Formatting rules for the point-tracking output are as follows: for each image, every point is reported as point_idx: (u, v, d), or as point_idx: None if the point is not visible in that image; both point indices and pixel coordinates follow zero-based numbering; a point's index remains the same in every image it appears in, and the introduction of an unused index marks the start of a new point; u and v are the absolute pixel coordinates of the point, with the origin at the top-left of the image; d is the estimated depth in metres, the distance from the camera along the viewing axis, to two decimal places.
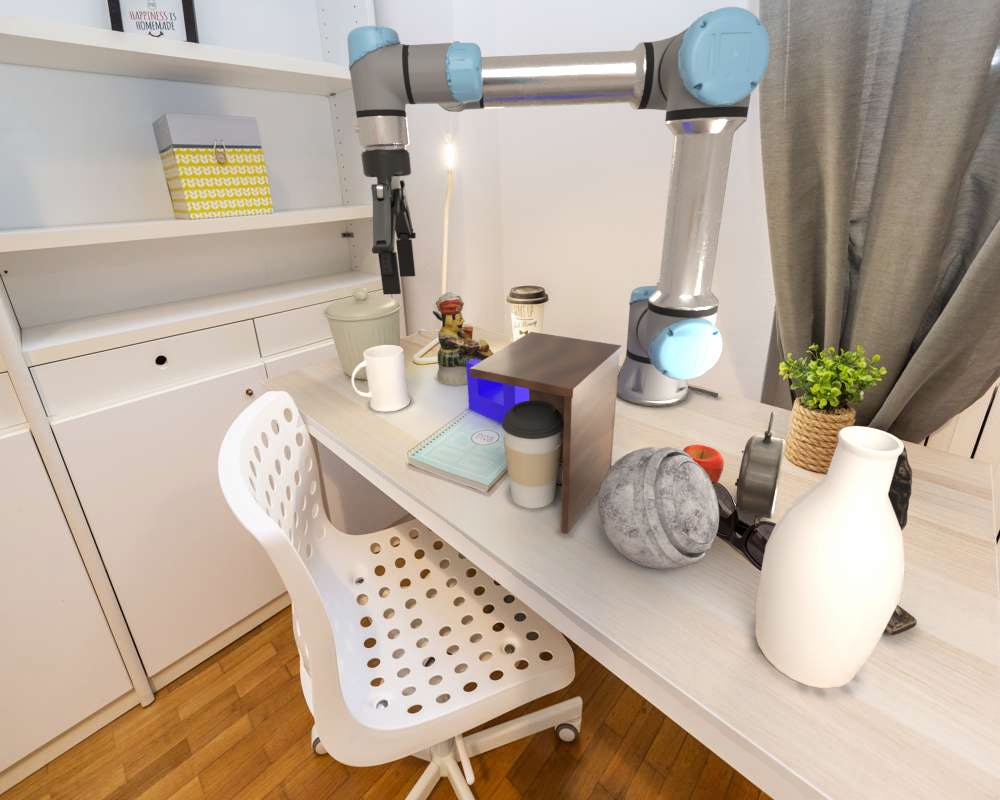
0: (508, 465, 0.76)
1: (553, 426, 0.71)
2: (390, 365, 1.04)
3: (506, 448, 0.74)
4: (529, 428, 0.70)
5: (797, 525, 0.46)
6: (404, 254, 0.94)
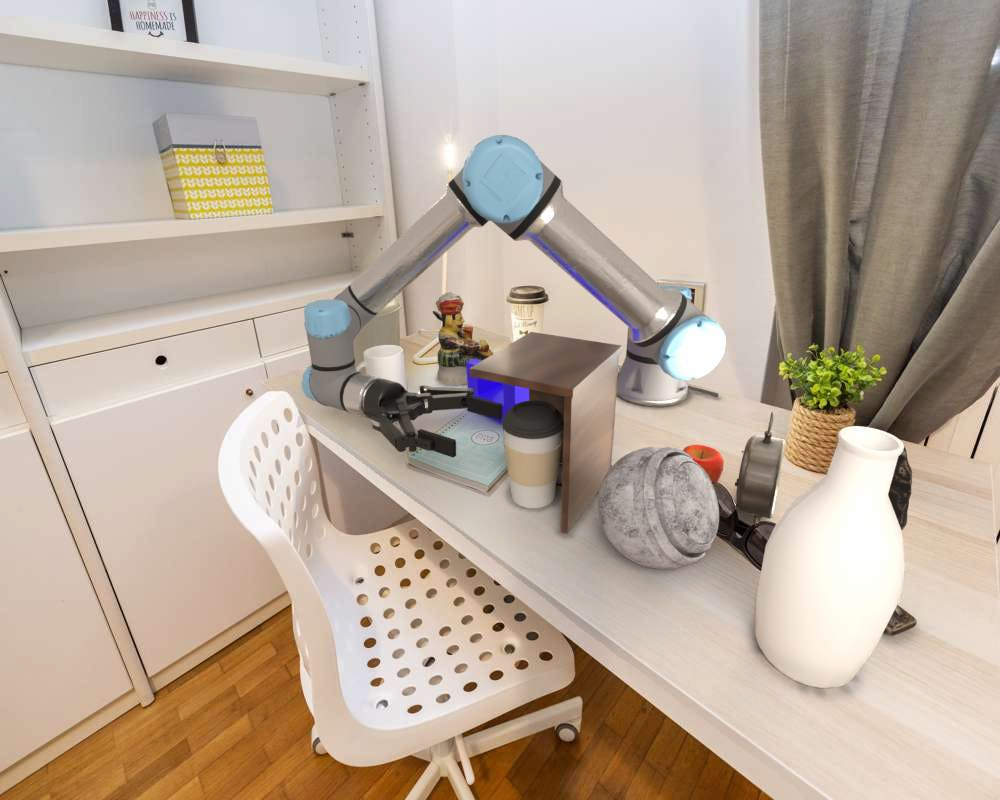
0: (508, 465, 0.76)
1: (553, 426, 0.71)
2: (390, 365, 1.04)
3: (506, 448, 0.74)
4: (529, 428, 0.70)
5: (797, 525, 0.46)
6: (479, 407, 0.87)
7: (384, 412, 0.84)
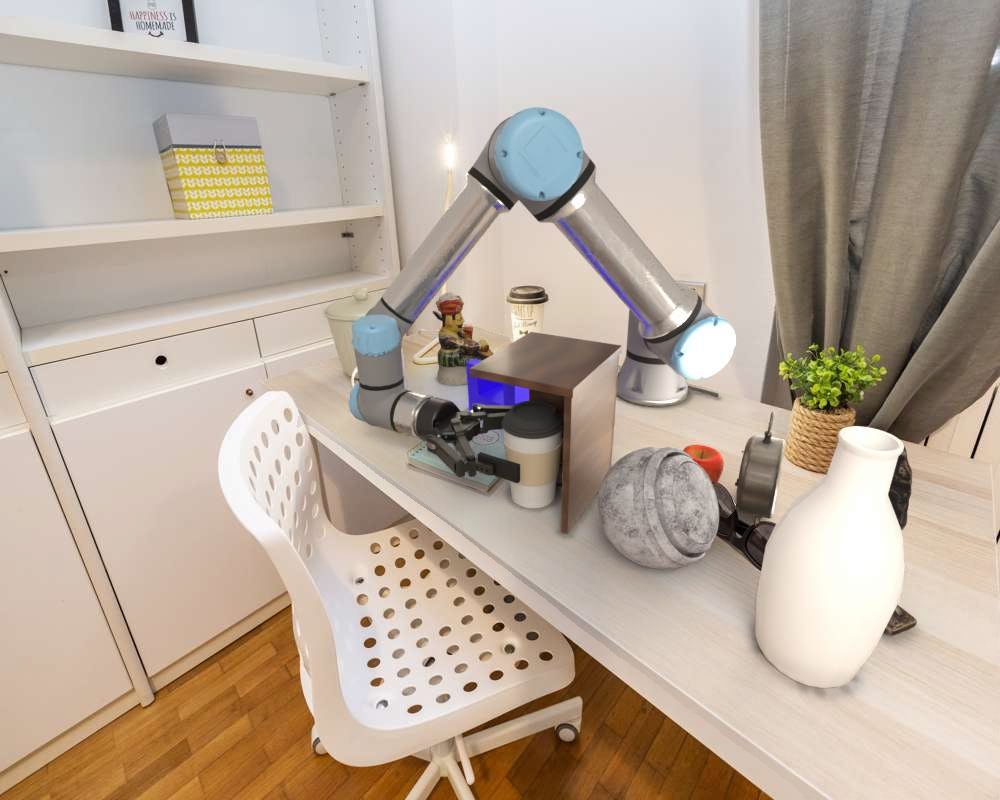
0: None
1: (553, 426, 0.71)
2: None
3: (506, 448, 0.74)
4: (529, 428, 0.70)
5: (797, 525, 0.46)
6: None
7: (438, 433, 0.79)
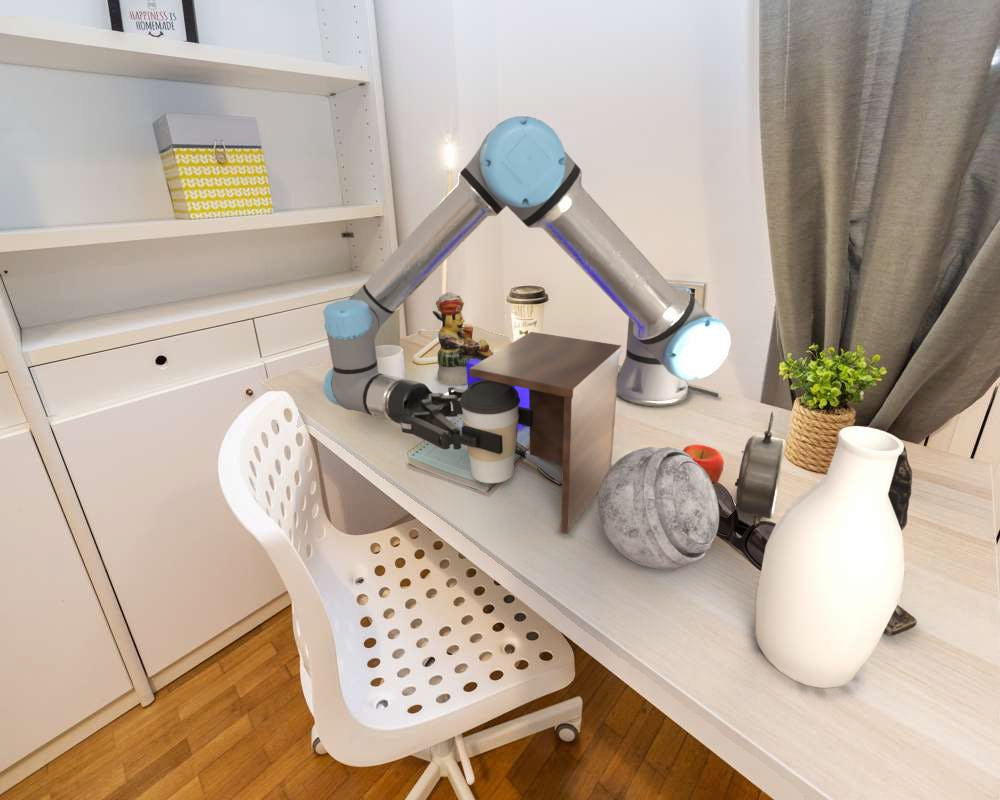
0: None
1: (508, 402, 0.74)
2: (390, 365, 1.04)
3: (464, 424, 0.77)
4: (484, 404, 0.73)
5: (797, 525, 0.46)
6: None
7: (409, 413, 0.81)
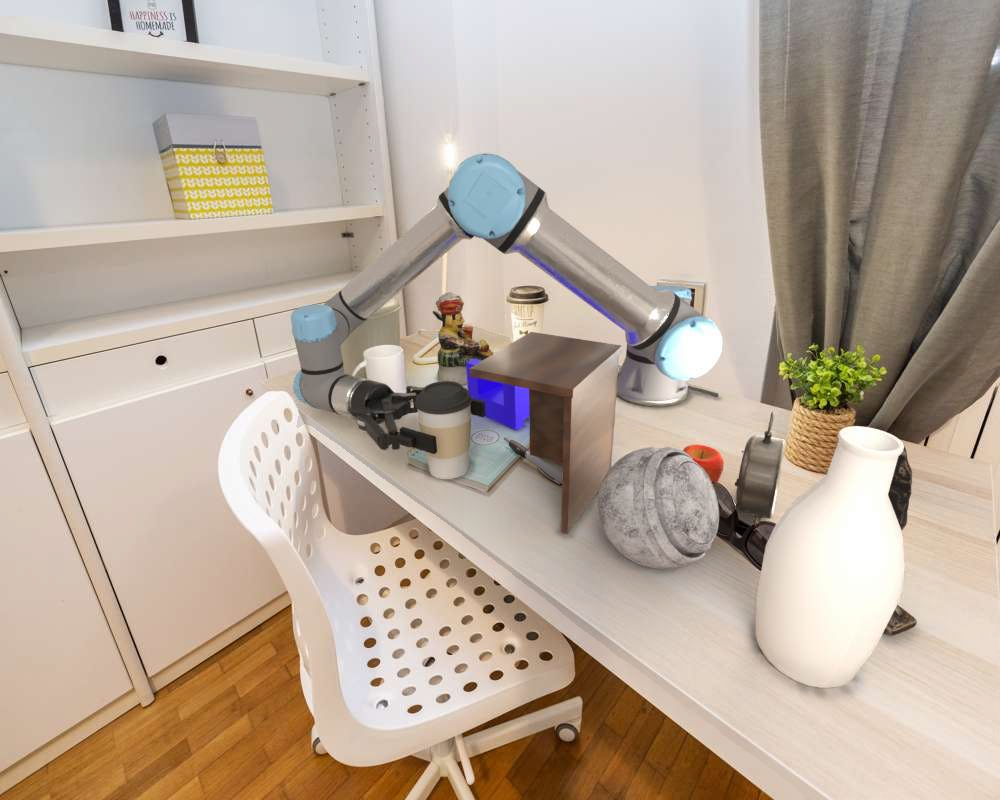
0: None
1: (458, 403, 0.79)
2: (390, 365, 1.04)
3: (419, 424, 0.82)
4: (436, 404, 0.78)
5: (797, 525, 0.46)
6: None
7: (369, 412, 0.86)
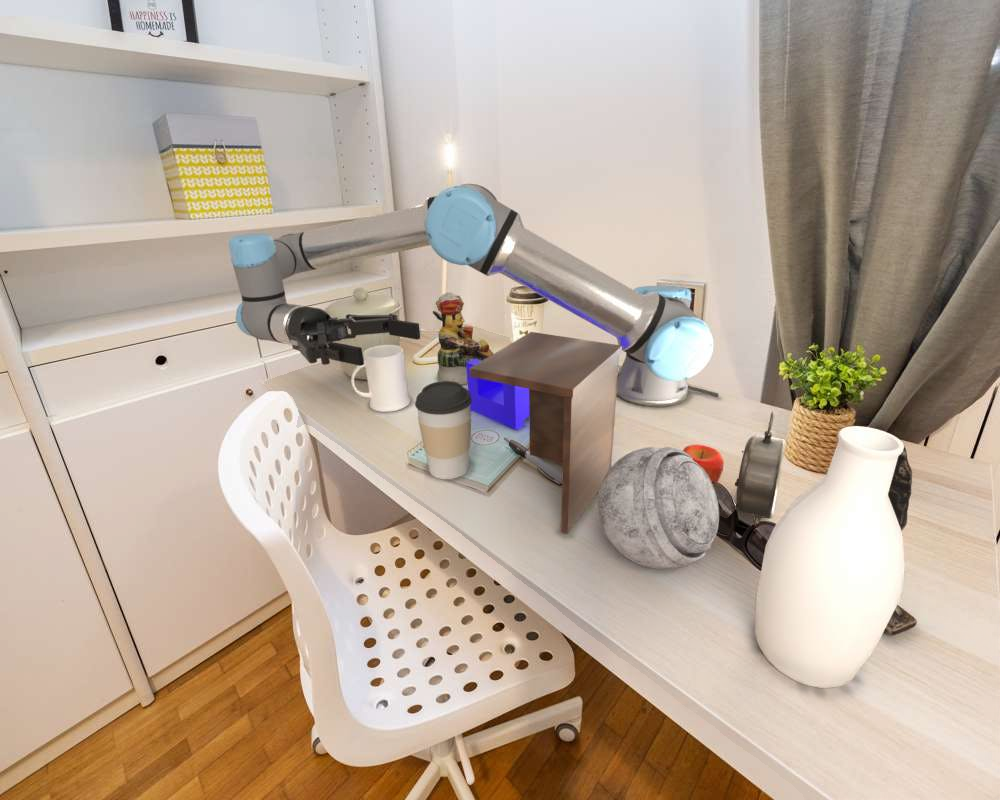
0: None
1: (458, 403, 0.79)
2: (390, 365, 1.04)
3: (419, 424, 0.82)
4: (436, 405, 0.78)
5: (797, 525, 0.46)
6: (399, 329, 0.90)
7: (304, 333, 0.87)
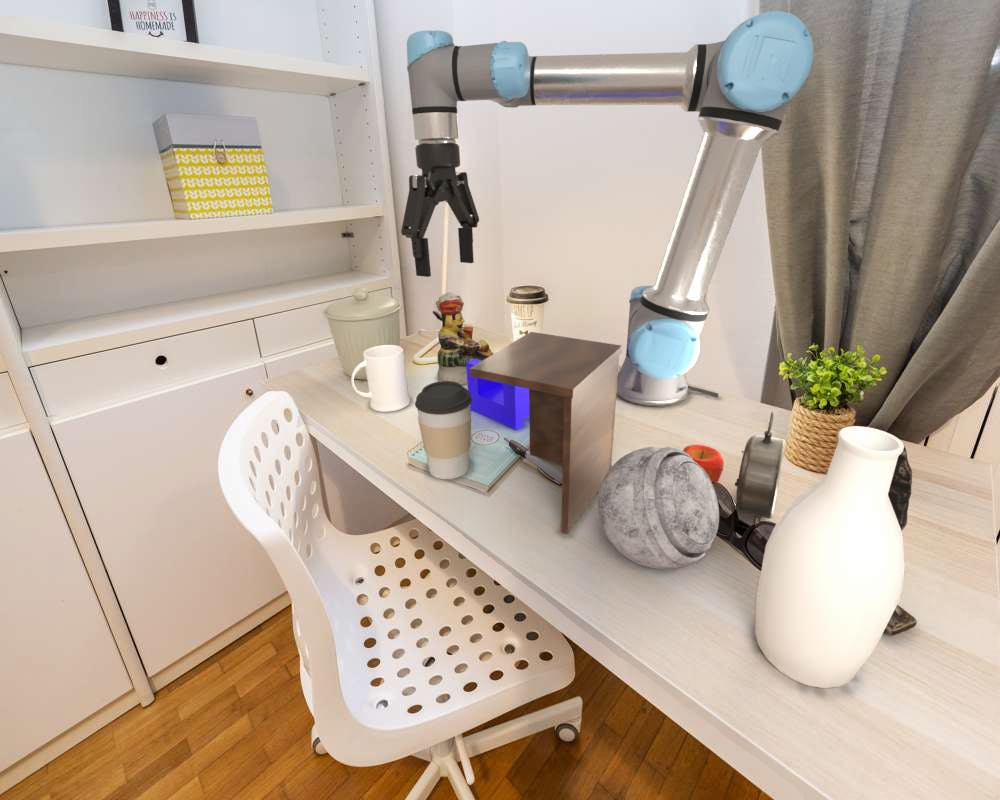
0: None
1: (458, 403, 0.79)
2: (390, 365, 1.04)
3: (419, 424, 0.82)
4: (436, 405, 0.78)
5: (797, 525, 0.46)
6: (464, 241, 1.00)
7: (427, 178, 0.86)
